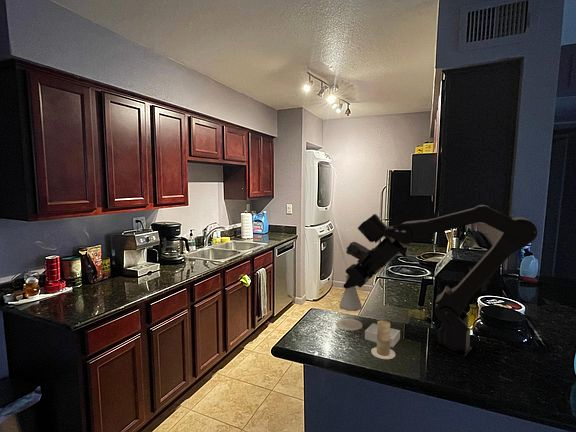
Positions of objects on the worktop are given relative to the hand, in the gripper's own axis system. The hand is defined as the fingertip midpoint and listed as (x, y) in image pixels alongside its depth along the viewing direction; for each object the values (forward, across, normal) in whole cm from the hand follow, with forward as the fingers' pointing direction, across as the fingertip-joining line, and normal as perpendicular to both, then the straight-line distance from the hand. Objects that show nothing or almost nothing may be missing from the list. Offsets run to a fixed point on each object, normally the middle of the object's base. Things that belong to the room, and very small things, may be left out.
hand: (346, 285), depth 96 cm
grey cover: (0, +4, +18) cm, 18 cm away
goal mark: (+8, 0, +10) cm, 12 cm away
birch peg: (-1, +12, +19) cm, 22 cm away
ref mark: (-1, +12, +19) cm, 22 cm away
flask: (+4, 0, +6) cm, 7 cm away
